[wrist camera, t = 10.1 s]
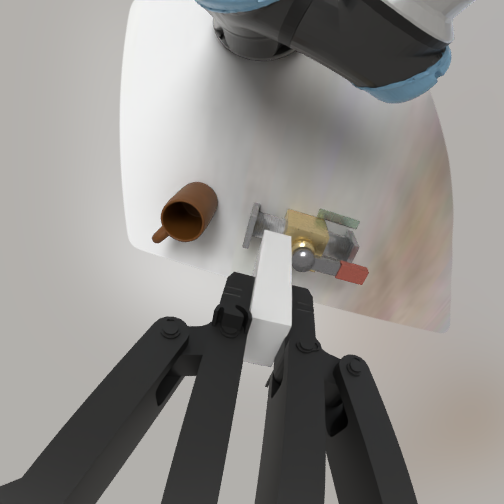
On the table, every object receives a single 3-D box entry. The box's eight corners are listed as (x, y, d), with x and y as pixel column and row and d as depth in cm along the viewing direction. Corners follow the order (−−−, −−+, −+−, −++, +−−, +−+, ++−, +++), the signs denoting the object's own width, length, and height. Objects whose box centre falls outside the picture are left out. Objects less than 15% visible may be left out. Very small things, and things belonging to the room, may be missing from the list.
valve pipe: (257, 190, 47) (252, 209, 39) (359, 221, 47) (371, 244, 40) (246, 233, 51) (239, 258, 44) (341, 259, 52) (349, 286, 44)
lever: (368, 265, 41) (370, 270, 40) (358, 281, 43) (360, 287, 42) (295, 244, 41) (295, 249, 40) (288, 262, 43) (288, 268, 42)
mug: (180, 236, 53) (163, 262, 45) (157, 207, 51) (135, 229, 43) (227, 205, 49) (215, 228, 41) (201, 172, 46) (183, 189, 38)
